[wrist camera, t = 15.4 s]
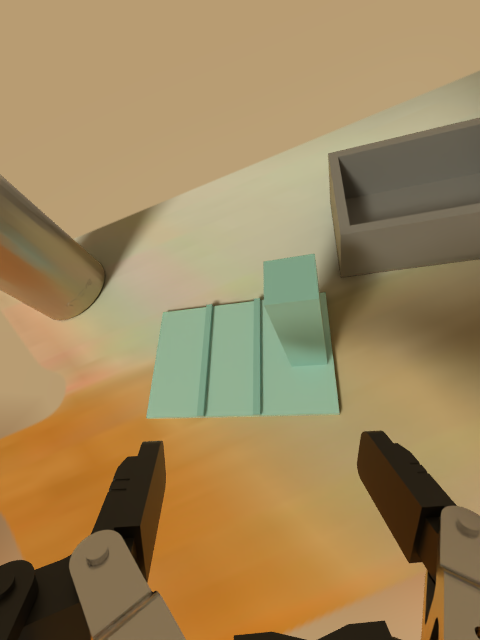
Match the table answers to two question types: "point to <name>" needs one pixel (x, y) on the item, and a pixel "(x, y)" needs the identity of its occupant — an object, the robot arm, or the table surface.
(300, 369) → the lid
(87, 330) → the table surface
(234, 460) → the table surface
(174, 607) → the table surface
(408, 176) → the tub
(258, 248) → the table surface
